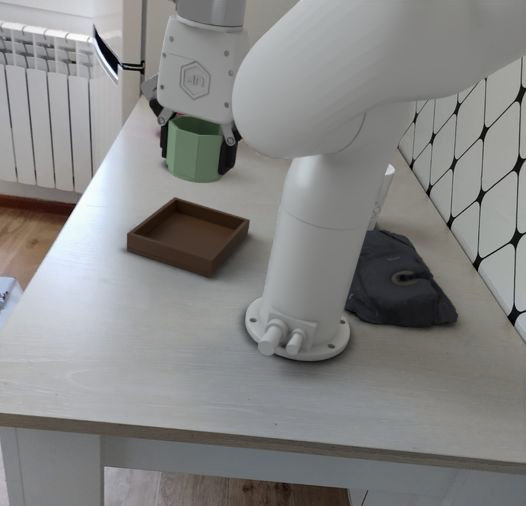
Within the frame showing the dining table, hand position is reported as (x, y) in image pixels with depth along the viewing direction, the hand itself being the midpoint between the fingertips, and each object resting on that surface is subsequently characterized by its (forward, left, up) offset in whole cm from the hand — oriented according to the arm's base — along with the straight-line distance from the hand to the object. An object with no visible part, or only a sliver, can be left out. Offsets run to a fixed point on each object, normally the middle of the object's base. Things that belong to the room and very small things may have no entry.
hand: (196, 162), depth 76 cm
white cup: (+22, -20, -12) cm, 32 cm away
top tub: (0, 0, -1) cm, 1 cm away
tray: (0, 0, -12) cm, 12 cm away
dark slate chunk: (+6, -28, -12) cm, 31 cm away
